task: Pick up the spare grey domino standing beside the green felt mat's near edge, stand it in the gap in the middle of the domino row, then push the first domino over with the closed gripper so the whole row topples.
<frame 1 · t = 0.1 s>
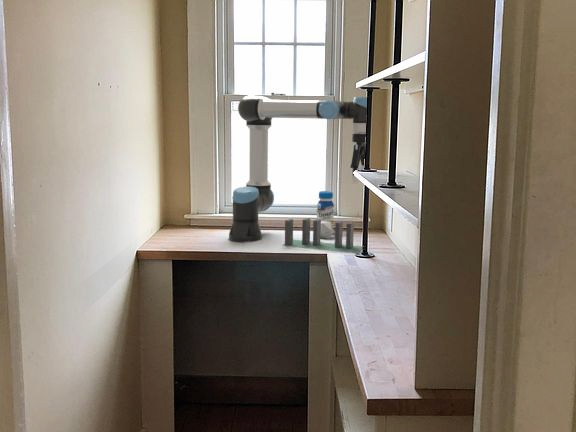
hand: (359, 181, 262), 28 cm above the table, tool pointing down, fingers open, 13 cm apart
die: (324, 238, 277), on the table
domino 1: (305, 243, 263), resting on mat
domino 2: (316, 244, 261), resting on mat
domino 3: (288, 244, 260), resting on mat
domino 4: (338, 246, 258), resting on mat
mat: (324, 247, 259), on the table
beverage bottle: (324, 232, 291), on the table
domino 5: (349, 247, 256), resting on mat
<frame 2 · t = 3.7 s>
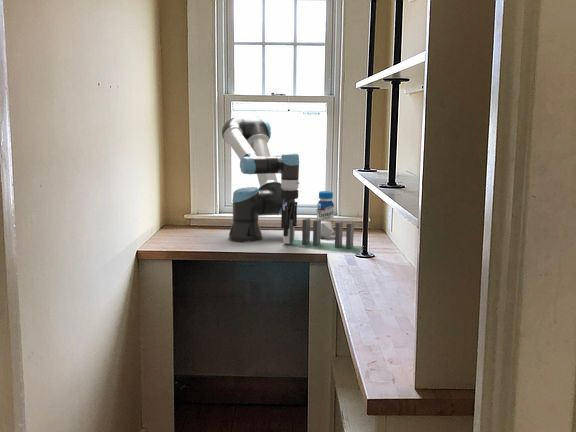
hand: (288, 241, 260), 2 cm above the table, tool pointing down, fingers closed on domino 3, 5 cm apart
domino 3: (288, 244, 260), resting on mat, touching gripper
everything else where it was.
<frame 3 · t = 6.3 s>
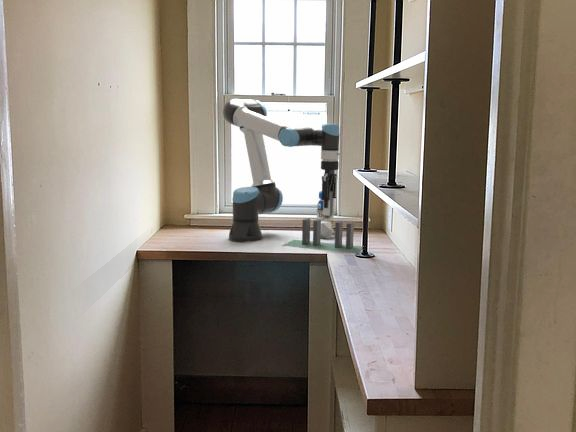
hand: (328, 214, 257), 14 cm above the table, tool pointing down, fingers closed on domino 3, 5 cm apart
domino 3: (328, 216, 257), point 13 cm above the table, touching gripper
everything else where it was.
when the fingers open (2 cm above the table, at t = 8.7 s): domino 3 stays where it is, resting on mat.
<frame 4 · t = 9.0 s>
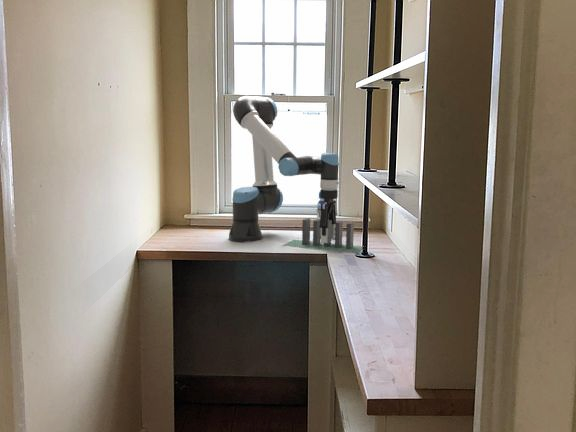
hand: (327, 240, 259), 3 cm above the table, tool pointing down, fingers open, 8 cm apart
domino 3: (327, 245, 260), resting on mat
everything else where it was.
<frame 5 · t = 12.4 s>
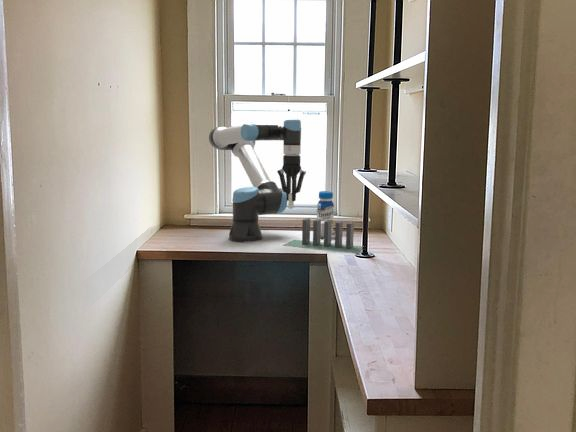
hand: (291, 208, 263), 16 cm above the table, tool pointing down, fingers closed
nothing on the table moved.
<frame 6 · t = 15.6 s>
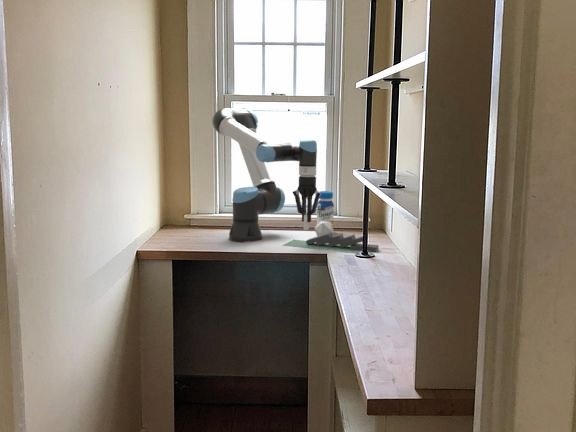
hand: (306, 229, 262), 7 cm above the table, tool pointing down, fingers closed
domino 1: (308, 241, 263), point 1 cm above the table, tilted 69°, touching domino 2
domino 2: (318, 242, 261), point 1 cm above the table, tilted 69°, touching domino 1, mat
domino 3: (330, 244, 259), point 1 cm above the table, tilted 68°, touching domino 4, mat
domino 4: (341, 245, 257), point 1 cm above the table, tilted 68°, touching domino 3, domino 5
domino 5: (351, 246, 255), point 1 cm above the table, tilted 89°, touching domino 4, mat
everything else where it was.
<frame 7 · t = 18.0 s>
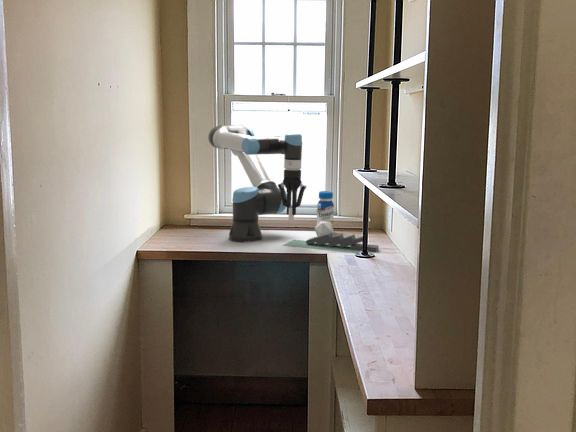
hand: (291, 221, 265), 9 cm above the table, tool pointing down, fingers closed
domino 2: (318, 242, 261), point 1 cm above the table, tilted 69°, touching domino 1, domino 3, mat
domino 3: (330, 244, 259), point 1 cm above the table, tilted 68°, touching domino 2, domino 4, mat
everything else where it was.
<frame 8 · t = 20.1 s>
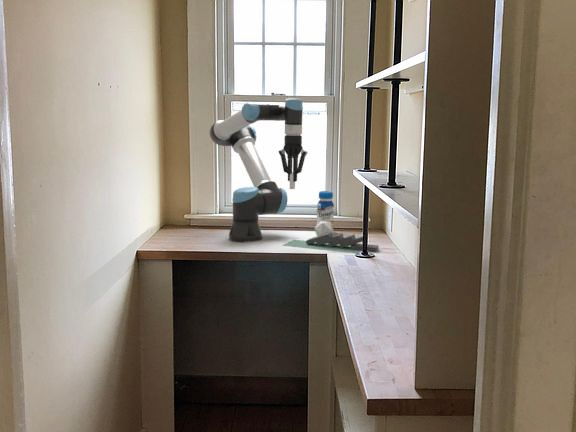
hand: (292, 188, 262), 24 cm above the table, tool pointing down, fingers closed
nothing on the table moved.
at the end: domino 5 tilted 90°; domino 3 inside the target area (1.4 cm from its centre), point 1.2 cm above the table; domino 1 tilted 69° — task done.
